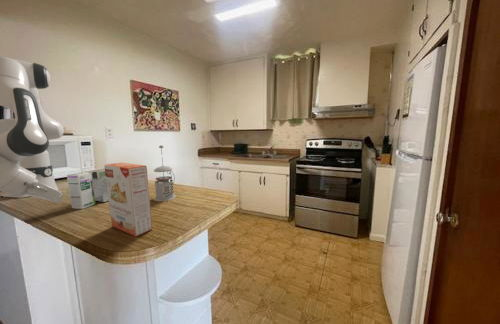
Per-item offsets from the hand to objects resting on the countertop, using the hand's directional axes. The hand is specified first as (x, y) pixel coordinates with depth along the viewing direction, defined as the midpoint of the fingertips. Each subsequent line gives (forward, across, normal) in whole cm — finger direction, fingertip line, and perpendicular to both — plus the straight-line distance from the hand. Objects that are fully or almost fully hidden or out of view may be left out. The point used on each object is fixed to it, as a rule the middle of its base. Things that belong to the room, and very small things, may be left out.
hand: (59, 200), depth 80 cm
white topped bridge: (+18, +1, -11) cm, 21 cm away
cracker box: (+5, -39, +2) cm, 39 cm away
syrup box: (+9, 0, -2) cm, 9 cm away
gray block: (+14, +1, -8) cm, 16 cm away
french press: (+25, -24, -18) cm, 39 cm away
